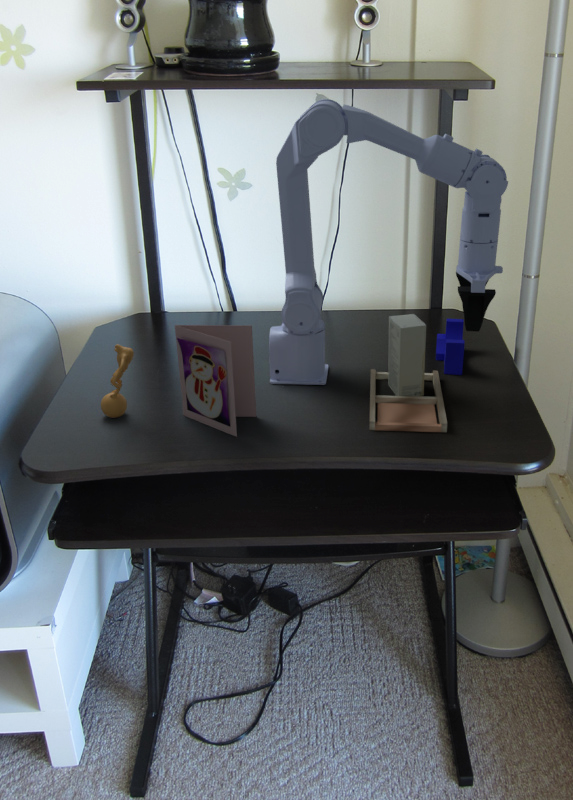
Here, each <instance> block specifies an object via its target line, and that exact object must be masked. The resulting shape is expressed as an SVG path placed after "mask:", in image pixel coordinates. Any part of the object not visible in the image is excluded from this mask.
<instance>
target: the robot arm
mask: <svg viewBox="0 0 573 800" xmlns="http://www.w3.org/2000/svg"><path fill="white" fill-rule="evenodd" d="M344 136H346V144H353V143H358V142H363V141H367V142H369V143H373V144H375V145H378V146H380V147H383V148H385V149H388V150H390V151H393V152H395V153H398V154H400V155H402V156H405V157H408V158H410V159H412V160H414V161H415V163H416V167H417V169H418V172H419V173H421V174H424V175H426V176H428V177H430V178H433V179H434V180H437V181H439V182H441V183H444V184H446V185H448V186H451V187H452V188H455V189H464V190H465V192H464V198H463V199H464V201H463V202H464V203H463V207H462V211H461V222H460V223H461V224H460V233H459V234H460V235H459V245H458V246H459V247H458V257H457V258H458V260H457V265H456V269H455V270H456V271H455V275H456V278H457V280H458V283H459V284H458V285H459V286H457V292H458V296H459V298H460V300H461V304H462V305H461V306H462V312H463V318H464V329H465V331H466V332H476V333H477V332H480V330H481V328H482V325H483V323H484V319H485V315H486V312H487V310H488V307H489V305H490V304H491V302H492V301H493V299H494V298H495V296H496V293H497V291H496V289H493V288H492V289H491V288H487V289H486V287H487V285H488V282H489V281H490V279H491V278H492V277H494V276H495V275H496V274H502V273H503V272H504V270H503V266H501V265H496V262H497V252H498V244H499V243H498V242H499V235H500V234H499V233H500V224H501V215H502V214H501V212H502V209H501V205H502V199H503V198H502V196H503V195H504V194H505V192H506V191H507V189H508V185H509V181H508V180H507V172H506V170H505V169H504V167H503V166H502V165H501V164H500V163H499V162H498V161H497V160H496V159H494V158H493V157H491V156H490V155H489V154H483V151H482V150H480V149H478V148H476V149H474V150H472V149H470V148H468V147H466V146H463V145H462V144H460V143H456V142H454V141H453V140H454V137H453V136H451V135H450V134H448V133H444V135H443V136H441V135H439V134H434V135H431V136H430V137H426V138H422V137H420V136H418V135H416V134H414V133H412V132H410V131H408V130H406V129H404V128H402V127H400V126H399V125H398V126H397V124H396V125H395V124H394V123H391V122H389V121H388V120H385V119H384V118H381V117H380V116H377V115H375V114H373V113H371V112H370V111H367V110H365V109H361V108H358V107H355V106H352V105H349V104H343V105H341V104H340V103H339V102H337V101H335V100H333V99H329V98H327V99H326V98H325V99H320V100H317V101H316V102H314V103H313V104H312V105H311V106H310V107H308V109H306V111H305V112H303V113H302V114H301V115H300V117H299V118H298V119H296V120H295V122H294V124H293V126H292V128H291V129H290V131H289V134H288V135H287V138H286V139H285V141H284V143H283V145H282V147H281V148H280V151H279V153H278V154H277V156H276V162H275V164H276V166H275V168H276V175H277V176H276V177H277V188H278V199H279V211H280V221H281V234H282V244H283V255H284V257H283V258H284V267H285V269H284V270H285V283H284V284H285V285H284V287H285V288H284V294H285V301H284V304H283V307H282V308H281V313H280V315H281V321H282V323H281V325H273V326H271V327H270V329H269V337H268V342H269V343H268V354H269V355H268V357H269V360H268V361H269V363H268V366H269V384H272V385H273V384H274V385H275V384H276V385H306V386H308V385H310V386H313V385H315V386H316V385H317V386H325V385H326V384H327V379H328V372H329V364H327V363H326V349H325V348H326V332H325V331H326V324H325V322H324V320H322V318H321V316H322V315H321V311H322V307H323V304H324V292H323V291H322V290H321V288H320V286H319V284H318V281H317V272H316V269H315V259H314V246H313V245H314V243H313V231H312V230H313V228H312V215H311V214H312V213H311V203H310V202H311V201H310V188H309V186H310V185H309V174H308V171H309V170H308V169H309V168H310V167H311V166H312V165H313V163H314V162H316V160H317V159H318V158H319V156H322V155H323V154H325V153H326V152H328V151H330V150H331V149H333V148H334V147H337V145H339V143H340V142H341V141H342V139H343V137H344Z"/></svg>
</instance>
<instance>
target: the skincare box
mask: <svg viewBox="0 0 573 800" xmlns="http://www.w3.org/2000/svg"><path fill="white" fill-rule="evenodd" d="M426 339H427V324H426V323H425V322H424V321H423V320H421V319H420V318H419V317H418V316H417V315H416V314H415V313H409V314H399V315H389V316H388V360H387V361H388V369H387V370H388V371H387V372H388V379H387V380H388V381H387V386H388V387H389V388H390V389H391V391H392V392H393V394H394V396H424V395H425V380H424V373H426V372H425V370H426V368H425V365H426V362H425V361H426V343H427V340H426Z"/></svg>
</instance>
